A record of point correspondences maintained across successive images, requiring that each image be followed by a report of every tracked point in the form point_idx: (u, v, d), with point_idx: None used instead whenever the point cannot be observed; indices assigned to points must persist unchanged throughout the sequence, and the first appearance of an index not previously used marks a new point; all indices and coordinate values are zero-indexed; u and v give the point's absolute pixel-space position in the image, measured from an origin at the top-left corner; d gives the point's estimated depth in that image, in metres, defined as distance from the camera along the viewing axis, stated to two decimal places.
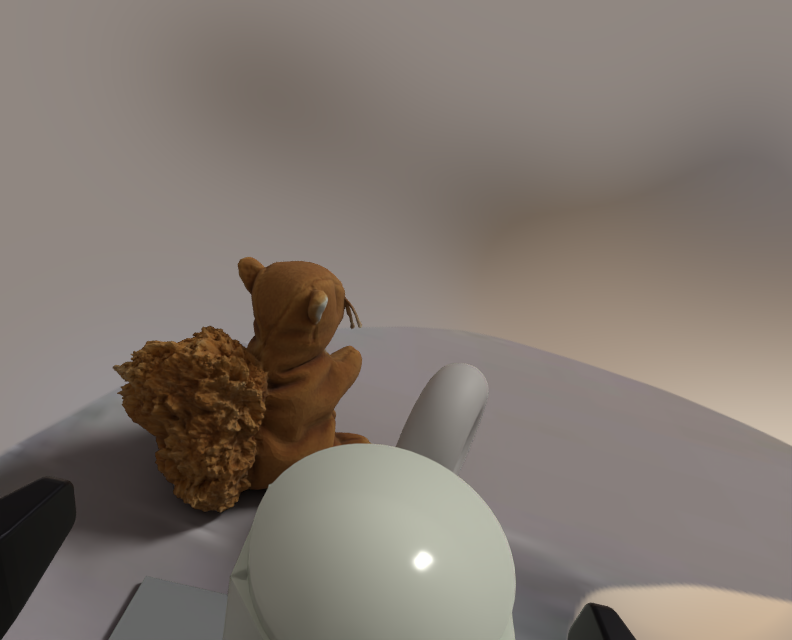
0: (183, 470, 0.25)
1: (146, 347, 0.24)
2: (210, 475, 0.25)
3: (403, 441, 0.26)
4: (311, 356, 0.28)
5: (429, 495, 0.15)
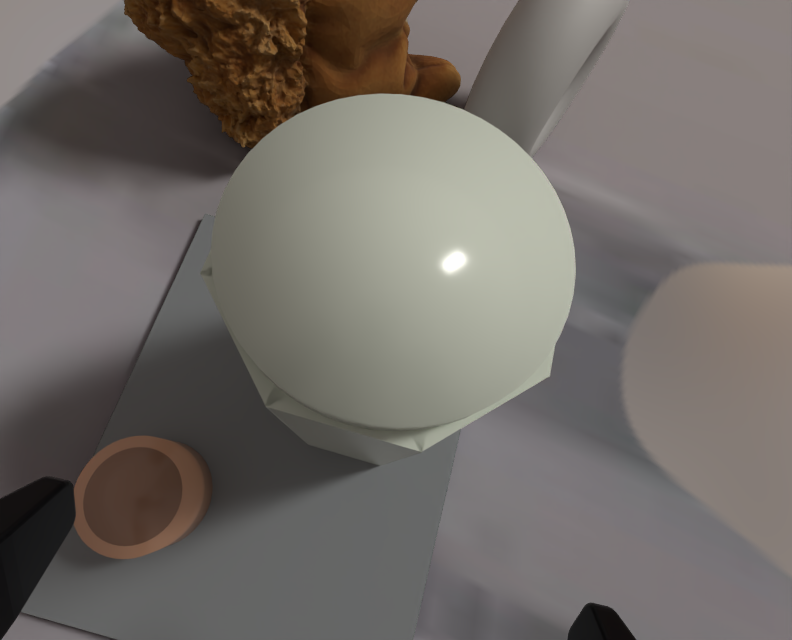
0: (222, 104, 0.21)
1: None
2: (253, 111, 0.21)
3: (483, 76, 0.19)
4: None
5: (474, 182, 0.10)
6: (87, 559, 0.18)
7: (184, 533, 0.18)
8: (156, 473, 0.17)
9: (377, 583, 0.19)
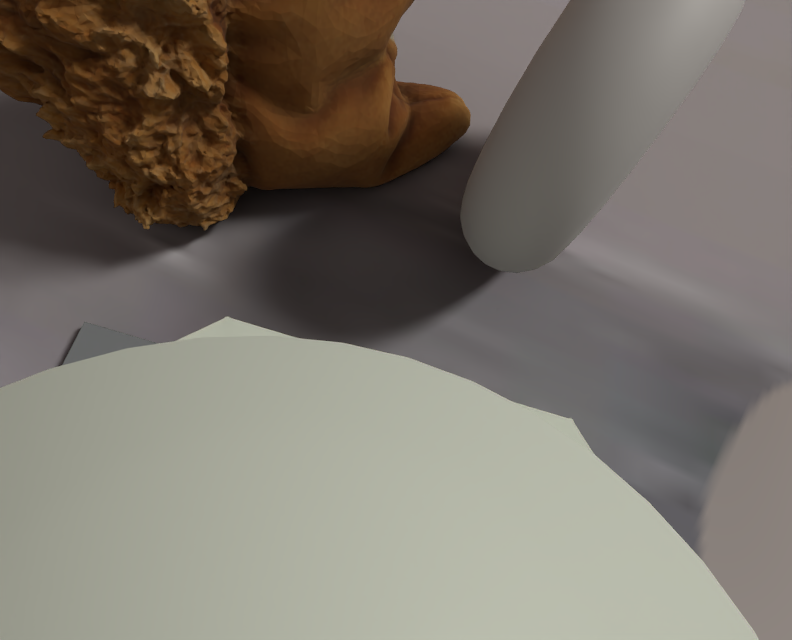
0: (104, 171, 0.14)
1: None
2: (154, 180, 0.14)
3: (502, 136, 0.11)
4: None
5: None
6: None
7: None
8: None
9: None
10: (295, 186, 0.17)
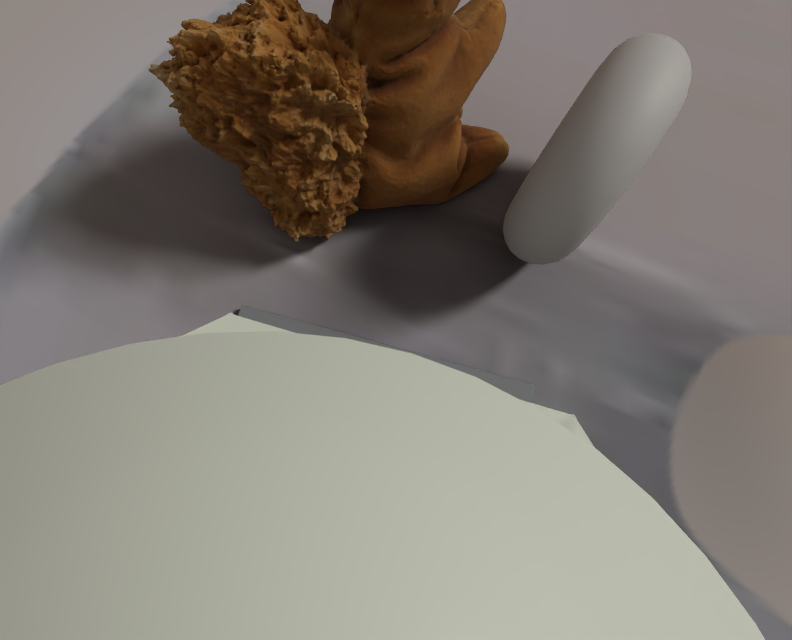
0: (277, 204, 0.20)
1: (182, 39, 0.16)
2: (308, 209, 0.21)
3: (537, 180, 0.18)
4: (430, 33, 0.17)
5: None
6: None
7: None
8: None
9: None
10: (389, 206, 0.23)
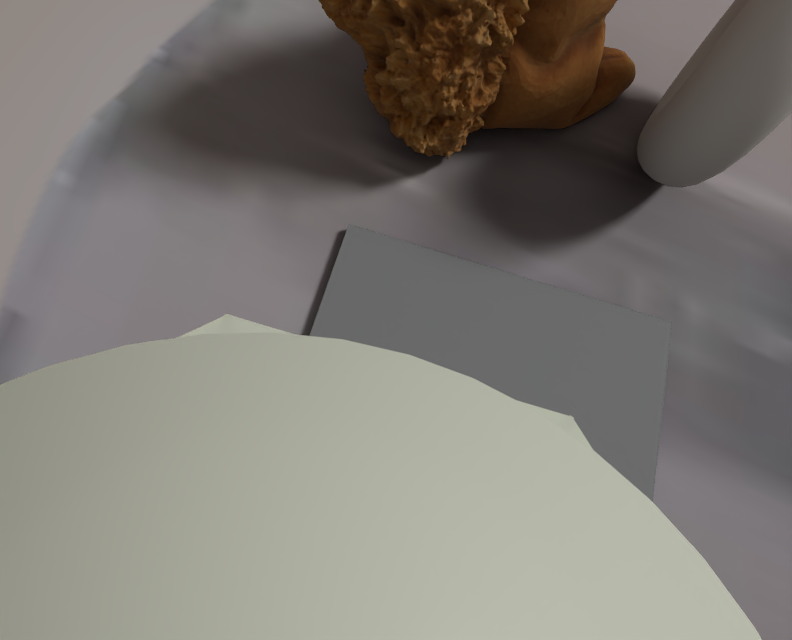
0: (411, 104, 0.18)
1: None
2: (444, 111, 0.18)
3: (718, 68, 0.16)
4: None
5: None
6: None
7: None
8: None
9: None
10: (514, 124, 0.21)
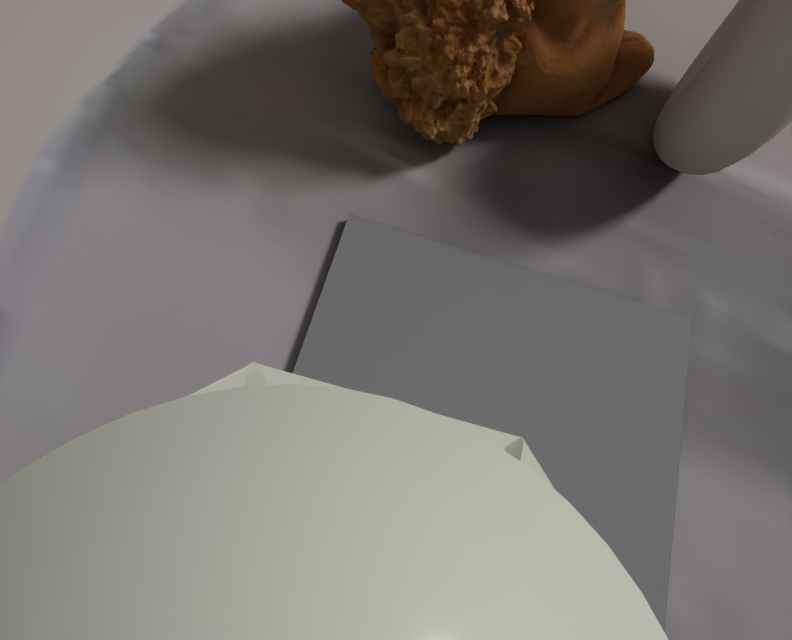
0: (421, 85, 0.17)
1: None
2: (456, 94, 0.17)
3: (746, 41, 0.15)
4: None
5: None
6: None
7: None
8: None
9: None
10: (529, 110, 0.20)
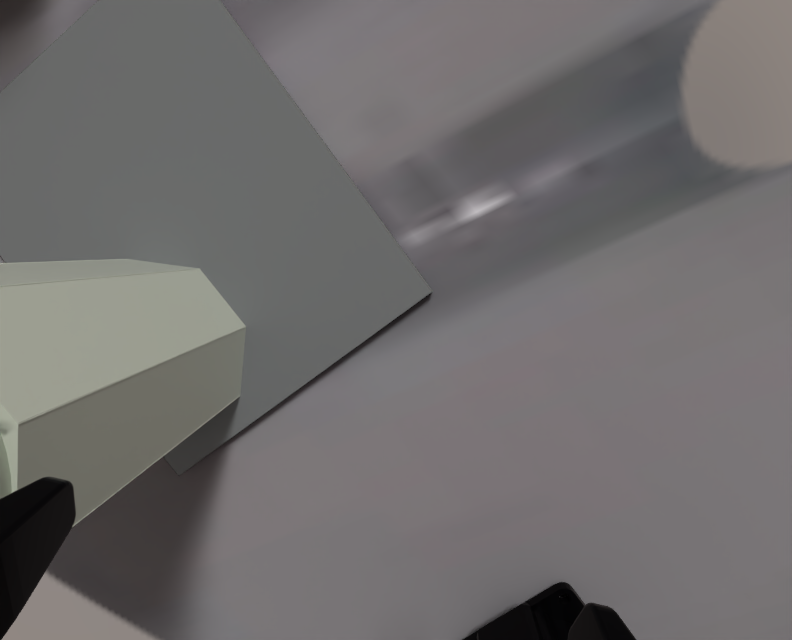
0: None
1: None
2: None
3: None
4: None
5: None
6: None
7: None
8: None
9: (337, 237, 0.20)
10: None
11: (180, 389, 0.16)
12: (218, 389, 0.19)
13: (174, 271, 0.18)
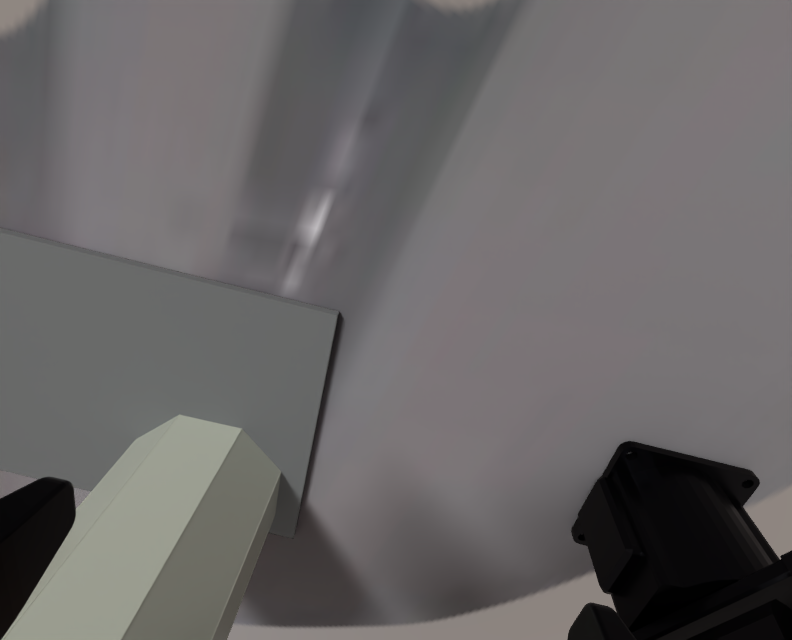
0: None
1: None
2: None
3: None
4: None
5: None
6: None
7: None
8: None
9: (238, 329, 0.21)
10: None
11: (211, 537, 0.19)
12: (252, 494, 0.22)
13: (157, 443, 0.22)
